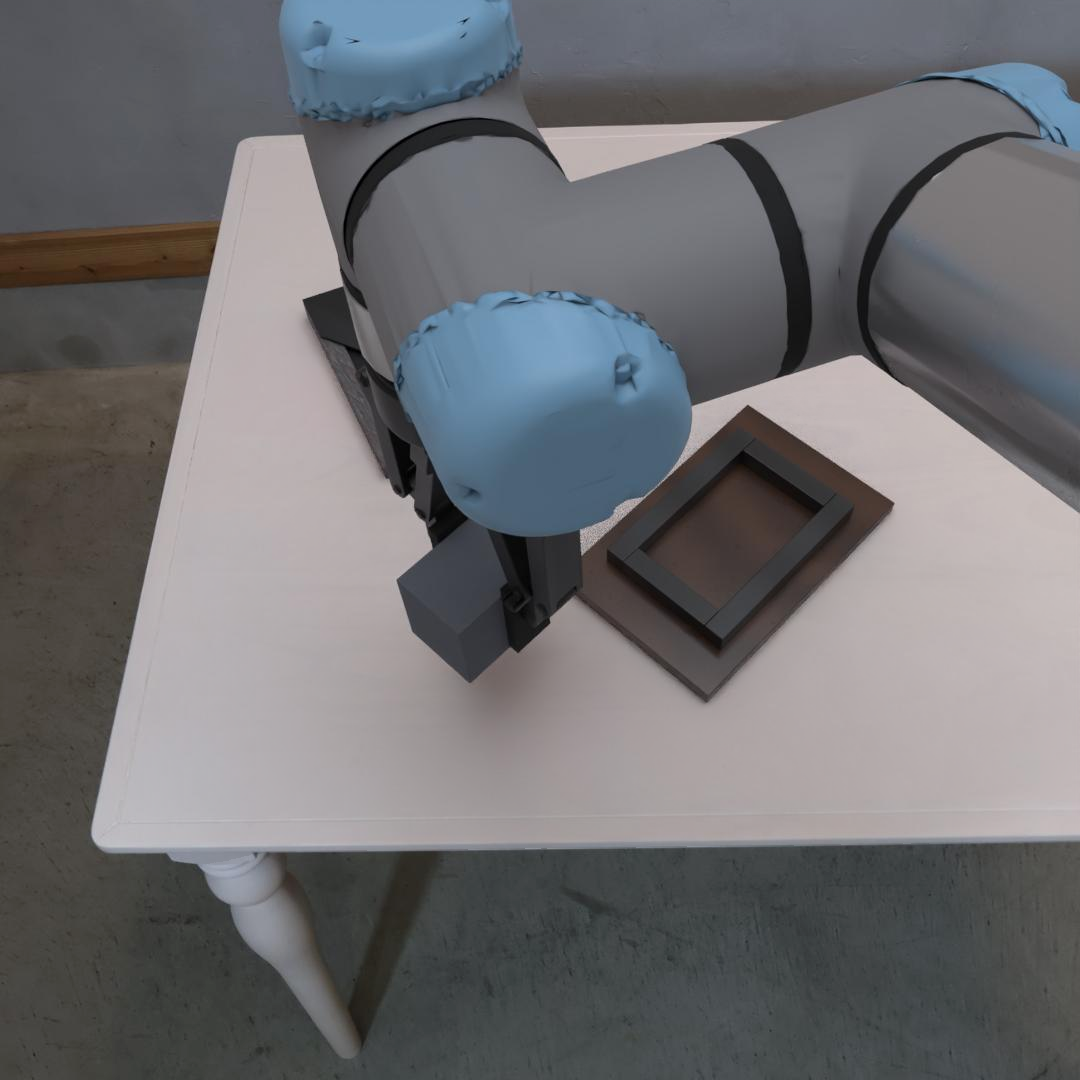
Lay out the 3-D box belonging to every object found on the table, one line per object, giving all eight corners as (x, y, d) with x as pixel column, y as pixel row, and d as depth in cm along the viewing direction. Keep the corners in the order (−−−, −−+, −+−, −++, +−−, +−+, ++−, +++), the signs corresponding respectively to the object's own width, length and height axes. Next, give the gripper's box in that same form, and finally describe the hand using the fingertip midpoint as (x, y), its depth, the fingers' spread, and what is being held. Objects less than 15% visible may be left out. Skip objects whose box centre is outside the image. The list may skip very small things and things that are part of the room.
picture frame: (307, 316, 91) (386, 478, 82) (302, 299, 90) (381, 462, 81) (458, 262, 94) (550, 413, 85) (455, 244, 92) (549, 396, 83)
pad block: (519, 537, 70) (512, 480, 65) (578, 584, 68) (575, 529, 63) (411, 631, 66) (395, 579, 61) (470, 684, 64) (458, 634, 59)
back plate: (746, 412, 84) (749, 390, 82) (892, 510, 79) (900, 490, 77) (560, 582, 77) (559, 563, 75) (707, 702, 72) (710, 686, 70)
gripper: (670, 390, 45) (652, 656, 64) (375, 191, 52) (439, 484, 72) (539, 505, 42) (561, 746, 62) (248, 278, 50) (349, 557, 69)
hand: (495, 605), depth 67 cm, fingers closed on pad block, 5 cm apart
